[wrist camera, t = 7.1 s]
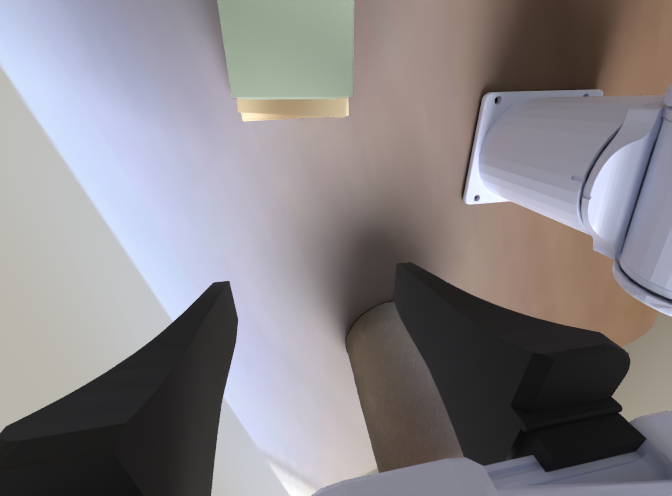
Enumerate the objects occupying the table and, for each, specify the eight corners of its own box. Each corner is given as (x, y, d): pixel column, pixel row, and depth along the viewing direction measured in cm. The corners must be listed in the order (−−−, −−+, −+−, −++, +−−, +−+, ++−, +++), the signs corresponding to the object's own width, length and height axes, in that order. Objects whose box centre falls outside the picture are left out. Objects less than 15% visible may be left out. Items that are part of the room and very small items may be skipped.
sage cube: (333, -13, 11) (355, -67, 8) (334, 99, 13) (352, 96, 10) (230, -19, 11) (204, -79, 7) (246, 99, 13) (231, 97, 9)
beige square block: (340, 4, 14) (353, -19, 11) (335, 115, 16) (345, 117, 14) (235, -8, 13) (223, -36, 11) (245, 111, 15) (238, 112, 13)
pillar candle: (353, 378, 31) (405, 579, 18) (337, 312, 26) (392, 519, 13) (436, 355, 32) (544, 533, 19) (435, 287, 27) (579, 460, 14)
